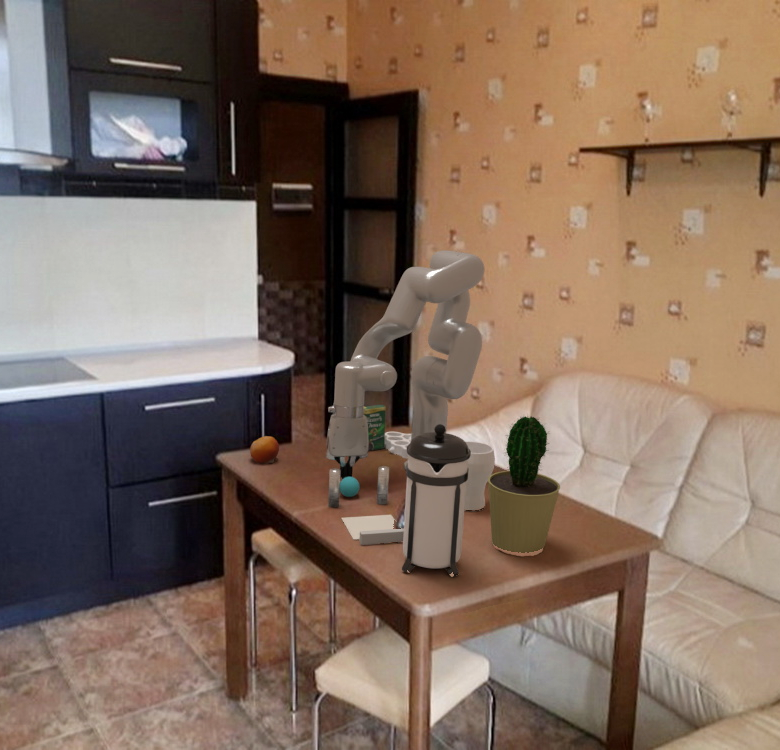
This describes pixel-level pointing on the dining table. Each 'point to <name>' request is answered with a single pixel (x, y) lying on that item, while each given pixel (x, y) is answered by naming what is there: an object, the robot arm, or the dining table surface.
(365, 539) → the rail
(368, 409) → the coffee box
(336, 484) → the outer post
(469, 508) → the cup
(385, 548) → the dining table surface
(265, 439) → the fruit
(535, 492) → the potted cactus
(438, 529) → the coffee press
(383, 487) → the inner post
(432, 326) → the robot arm
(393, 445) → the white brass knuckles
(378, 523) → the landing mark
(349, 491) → the ball
